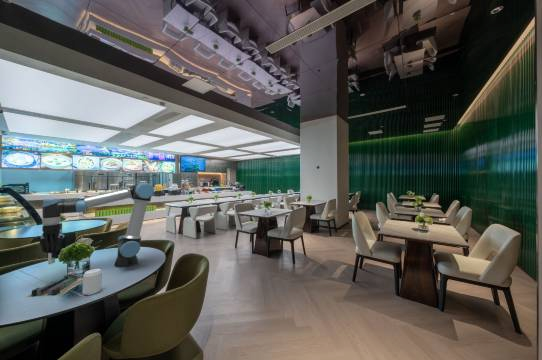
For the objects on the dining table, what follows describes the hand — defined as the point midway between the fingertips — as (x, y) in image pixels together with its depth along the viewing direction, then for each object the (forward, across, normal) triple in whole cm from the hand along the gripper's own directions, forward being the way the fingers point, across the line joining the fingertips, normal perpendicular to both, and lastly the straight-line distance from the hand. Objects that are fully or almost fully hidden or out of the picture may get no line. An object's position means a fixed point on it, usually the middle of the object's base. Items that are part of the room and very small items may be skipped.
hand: (51, 263), depth 122 cm
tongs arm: (+13, -5, +3) cm, 14 cm away
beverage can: (+15, -28, +11) cm, 34 cm away
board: (+14, -6, +3) cm, 16 cm away
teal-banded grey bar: (+13, -9, +4) cm, 16 cm away
